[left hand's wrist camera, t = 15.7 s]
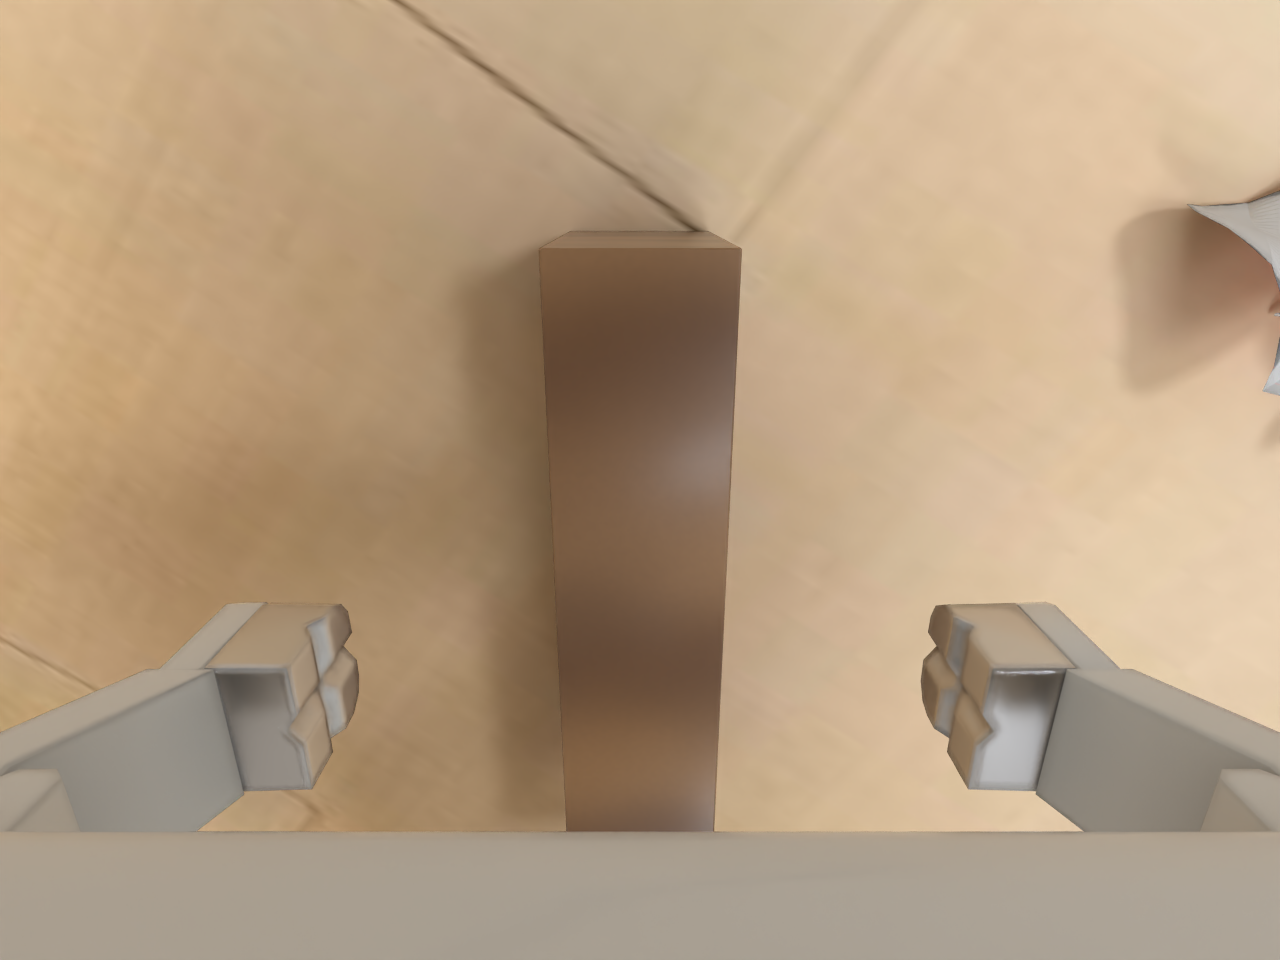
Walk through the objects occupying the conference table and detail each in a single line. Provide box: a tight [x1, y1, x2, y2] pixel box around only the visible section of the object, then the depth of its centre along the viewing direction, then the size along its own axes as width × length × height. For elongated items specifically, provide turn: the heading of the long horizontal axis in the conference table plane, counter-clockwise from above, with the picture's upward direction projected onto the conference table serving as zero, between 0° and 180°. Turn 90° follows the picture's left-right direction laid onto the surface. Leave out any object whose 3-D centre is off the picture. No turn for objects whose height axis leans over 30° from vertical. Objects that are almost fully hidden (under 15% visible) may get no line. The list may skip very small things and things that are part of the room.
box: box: [539, 231, 742, 832], centre depth 30 cm, size 28×6×10 cm, turn 0°
